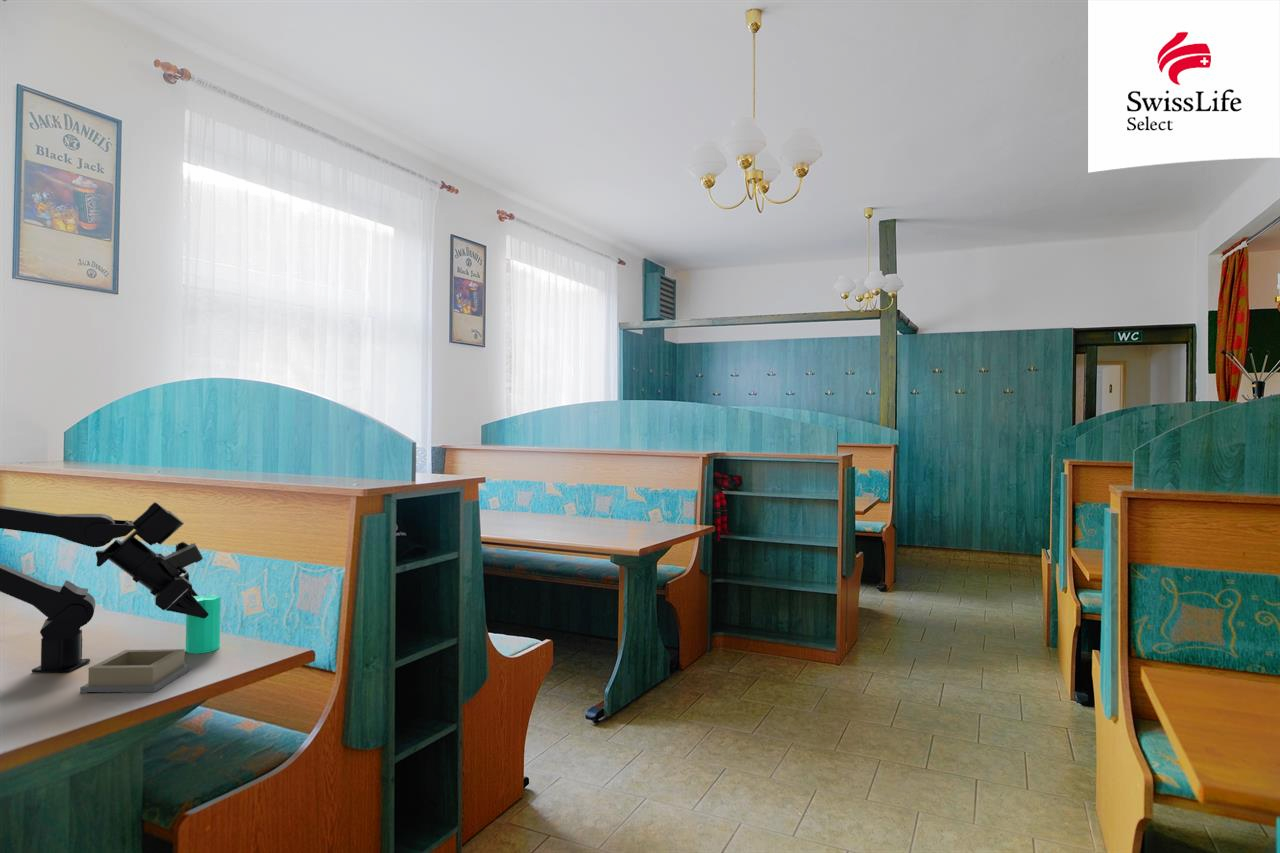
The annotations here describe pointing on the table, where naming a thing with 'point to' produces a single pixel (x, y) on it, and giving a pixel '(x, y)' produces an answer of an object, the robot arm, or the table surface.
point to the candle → (204, 627)
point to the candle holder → (136, 671)
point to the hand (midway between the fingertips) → (205, 611)
